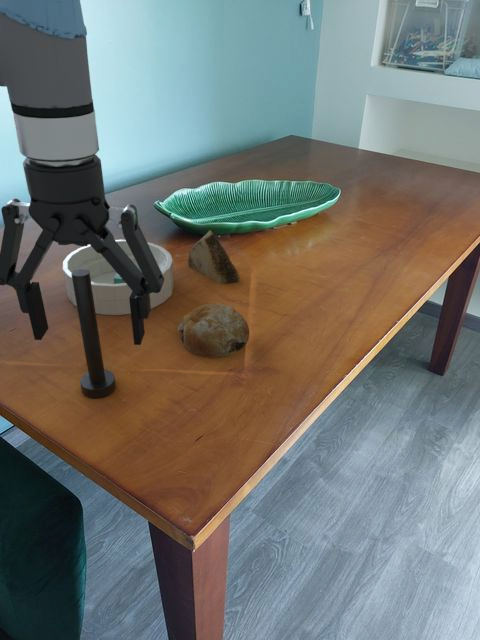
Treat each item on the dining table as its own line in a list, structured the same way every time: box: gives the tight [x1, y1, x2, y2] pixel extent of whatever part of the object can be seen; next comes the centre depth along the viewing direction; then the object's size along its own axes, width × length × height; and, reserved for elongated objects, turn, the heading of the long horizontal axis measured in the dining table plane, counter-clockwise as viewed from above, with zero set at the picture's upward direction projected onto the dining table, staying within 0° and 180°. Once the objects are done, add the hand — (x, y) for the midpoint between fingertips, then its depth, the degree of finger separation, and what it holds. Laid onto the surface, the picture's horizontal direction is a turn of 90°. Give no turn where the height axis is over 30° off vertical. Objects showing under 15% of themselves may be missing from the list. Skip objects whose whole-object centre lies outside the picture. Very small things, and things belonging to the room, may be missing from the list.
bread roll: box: [177, 303, 250, 359], centre depth 79 cm, size 10×10×8 cm
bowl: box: [62, 239, 175, 316], centre depth 91 cm, size 18×18×6 cm
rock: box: [187, 230, 241, 285], centre depth 97 cm, size 11×9×10 cm
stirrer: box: [71, 269, 117, 399], centre depth 66 cm, size 4×4×17 cm
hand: (90, 336), depth 66 cm, fingers open, 11 cm apart
